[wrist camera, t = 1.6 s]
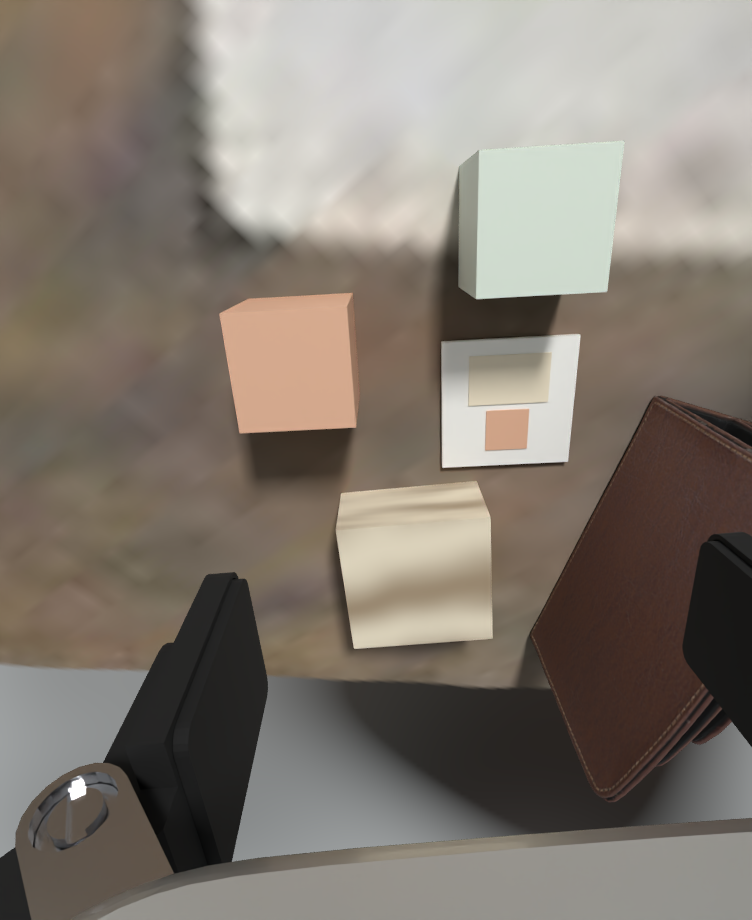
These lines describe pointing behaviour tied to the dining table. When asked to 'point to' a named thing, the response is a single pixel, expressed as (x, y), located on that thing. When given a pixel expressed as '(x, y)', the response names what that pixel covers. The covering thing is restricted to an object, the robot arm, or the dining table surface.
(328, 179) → the dining table surface
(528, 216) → the sage cube
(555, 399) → the card
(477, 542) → the birch block
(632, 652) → the letter holder
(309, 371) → the terracotta cube
